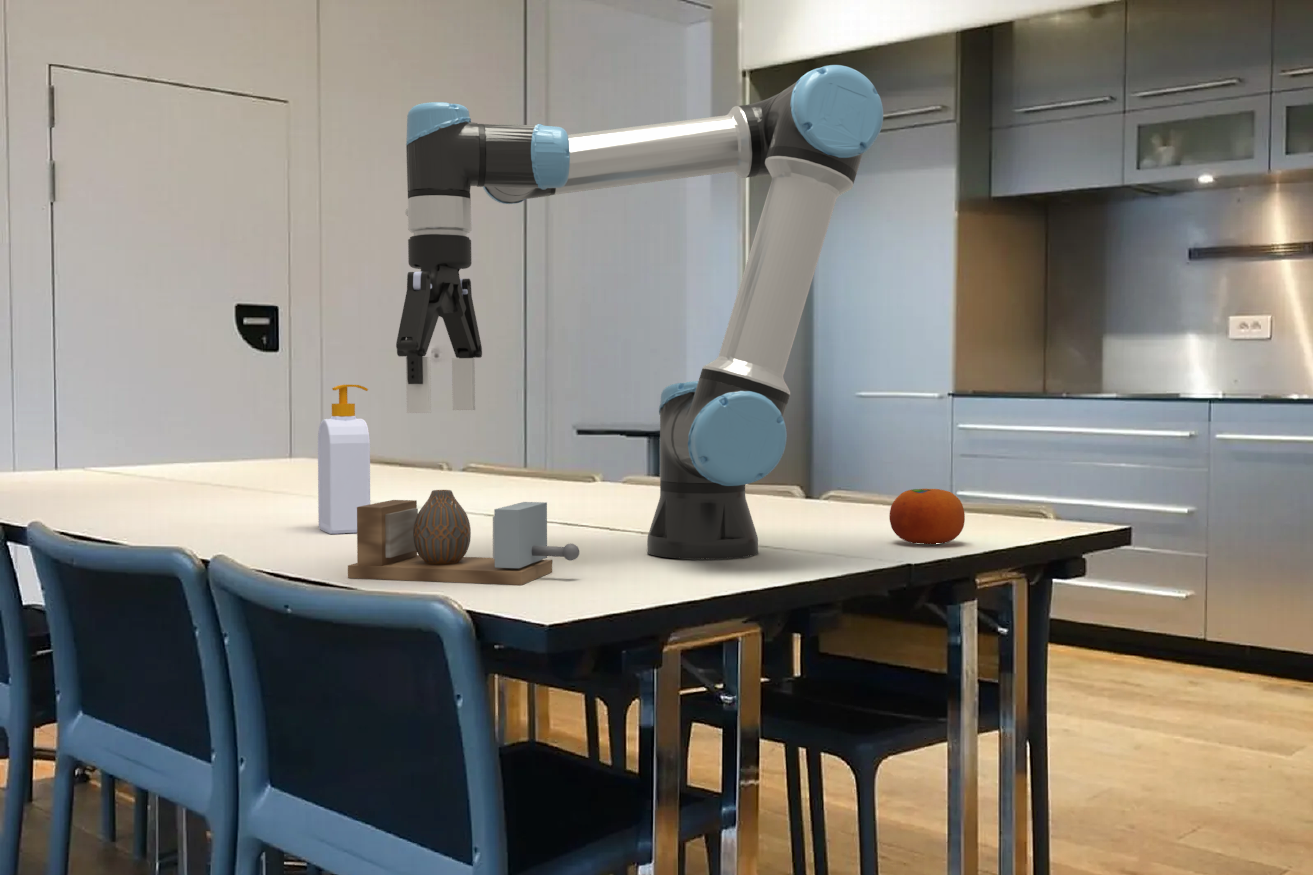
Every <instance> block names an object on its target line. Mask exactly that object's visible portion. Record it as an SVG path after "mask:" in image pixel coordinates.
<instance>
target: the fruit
mask: <svg viewBox="0 0 1313 875" xmlns="http://www.w3.org/2000/svg"><path fill="white" fill-rule="evenodd" d="M965 514H966V513H965V509H964V505H963V503H962V501H961V500H960V499H959V497H957V496H956V495H955V493H953V492H951V491H949V490H948V491H947V490H944V489H941V488H939V489H938V488H913V489H908V490H905V491H904V492H902V493H900V494H899V495H898V496H897V497H896V498H895V499H894V501H893V502H892V504H891V506H890V509H889V515H888V516H889V523H890V526H891V529H892V531H893V532H894V534H895V535H896V536H897V537H898V538H900V539H902V540H904V541H905V542H908V543H911V542H912V543H911V544H914V543H924V544H923V545H934V544H936V543H943V544H946V543H945V542H947V543H950V542H952V541H953V540H955V539H956V538H957V537H959V536H960V534H961V532H962V531H963V529H964V527H965V526H964V525H965V520H966V519H965V518H966V517H965Z"/></svg>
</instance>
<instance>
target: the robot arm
mask: <svg viewBox="0 0 1313 875" xmlns="http://www.w3.org/2000/svg"><path fill="white" fill-rule="evenodd" d="M406 116H407V117H406V118H407V119H406V120H407V121H406V144H405V146H406V147H405V148H406V151H405V152H406V177H407V178H406V180H407V181H406V182H407V184H406V185H407V208H406V210H405V211H404V213H405V215H406V216H407V217H408V218H407V220H408V221H407V222H408V224H407V226H408V228H407V229H408V231H409V232H410V233H411V234H413V235H412V236H410V237H409V238H408V239H407V247H408V248H407V249H408V258H407V259H408V265H409V267H410V268H413V269H415V270H420V271H409V272H408V273H407V277H406V278H407V279H406V280H407V281H406V294H405V299H404V303H403V308H402V313H401V317H400V323H399V329H398V333H397V338H396V345H395V347H396V354H397V356H398V357H400V358H401V357H405V371H406V372H405V375H406V378H405V379H406V380H405V381H406V383H405V384H406V413H407V414H431V413H432V393H431V392H432V388H431V386H432V385H431V384H432V383H431V382H432V381H431V379H432V378H431V356H426V355H427V353H428V349H429V347H430V344H431V340H432V338H433V335H434V332H435V328H436V325H437V323H438V320H439V317H440V318H441V319H442V320H443V322H444V326H445V328H446V331H447V332H446V333H447V335H448V337H449V338H448V339H449V341H450V344H451V346H452V349H453V352H454V356H455V358H451V370H452V371H451V376H452V377H451V379H452V380H451V381H452V384H451V385H452V411H476V387H475V386H476V384H475V383H476V381H475V380H476V378H475V374H476V373H475V372H476V371H475V368H476V367H475V359H480V358H482V356H483V348H482V346H483V345H482V341H481V338H480V332H479V327H478V321H477V316H476V311H475V307H474V302H473V297H472V294H473V293H472V281H471V279H470V278H460V277H461V276H460V270H466V269H468V268H470V267H471V266H472V240H471V239H470V237H469V236H468V235H467V234H469V233H471V231H472V203H471V202H472V201H471V187H479V188H483V190H484V192H485V193H486V195H487V196H489V197H490V198H491V199H492V200H493V201H495V202H496V203H500V204H503V205H515V204H520V203H522V202H523V201H526V200H528V199H529V200H530V199H536V198H545V197H549V196H556V195H564V194H570V193H579V192H585V191H594V190H601V189H611V188H617V187H626V186H632V185H634V186H635V185H639V184H648V183H655V182H663V181H665V182H666V181H671V180H680V179H685V178H695V177H696V178H697V177H703V176H711V175H719V174H726V173H734V174H736V175H737V176H738V177H740V178H741V179H746V178H755V177H767V176H771V182H770V185H769V188H768V191H767V195H766V198H765V200H764V205H763V208H762V211H761V214H760V218H759V220H758V224H757V228H756V231H755V235H754V238H753V241H752V244H751V248H750V251H749V254H748V258H747V262H746V264H745V268H744V270H743V275H742V277H741V280H740V283H739V287H738V291H737V295H736V298H735V300H734V304H733V308H732V309H731V310H732V311H731V314H730V317H729V321H728V323H727V328H726V330H725V334H724V337H723V340H722V342H721V346H720V351H719V353H718V356H717V358H715V359H714V360H712V361H711V362H709V363H707V364H705V365H703V366H702V369H701V371H700V374H699V378H698V380H693V381H692V380H691V381H687V382H677V383H673V384H670V385H668V386H667V385H666V387H665V388H663V389H662V391H661V394H660V401H659V402H660V403H659V407H658V414H659V441H660V442H659V445H660V446H659V447H660V448H659V463H660V464H659V471H660V472H659V478H660V479H659V483H660V484H659V485H660V486H659V488H660V489H659V491H660V492H659V500H658V503H657V506H656V509H655V511H654V515H653V519H652V522H651V525H650V527H649V532H648V535H647V542H646V544H647V545H646V546H647V550H646V552H647V554H649V555H652V556H655V557H662V558H669V559H683V560H684V559H685V560H726V559H727V560H728V559H737V558H740V559H741V558H747V557H751V556H752V557H753V556H755V555H757V554H758V553H759V538H758V537H759V536H758V533H757V531H756V527H755V524H754V521H753V518H752V515H751V512H750V511H751V510H750V508H749V505H748V502H747V499H746V498H747V497H746V485H748V484H752V483H756V482H758V481H760V480H762V479H763V478H765V477H766V476H768V475H769V474H770V473H771V472H772V471H773V470H774V469H775V468H776V467H777V465H778V464H779V463H780V461H781V459H782V457H783V455H784V452H785V450H786V446H787V440H788V439H787V438H788V437H787V435H788V434H787V426H786V423H785V422H786V421H785V419H784V417H785V413H786V410H787V406H788V403H789V400H790V396H791V391H790V388H789V387H788V385H787V383H786V382H785V378H784V374H785V371H786V368H787V366H788V365H787V364H788V361H789V358H790V354H791V351H792V347H793V344H794V341H795V338H796V336H797V331H798V327H799V324H800V322H801V318H802V314H803V311H804V308H805V305H806V302H807V299H808V295H809V292H810V289H811V285H812V282H813V278H814V275H815V272H816V270H817V265H818V262H819V258H820V255H821V252H822V248H823V245H824V242H825V239H826V235H827V232H828V229H829V225H830V222H831V219H832V216H833V211H834V209H835V205H836V203H837V198H839V197H840V196H841V195H843V194H845V193H847V192H849V191H850V190H852V189H853V188H854V183H855V181H856V176H857V175H858V174H857V173H858V170H859V168H860V164H861V162H862V161H861V160H862V158H863V154H864V153H866V152H867V151H869V149H870V148H871V147H872V146H873V144H874V143H875V142H876V140H877V138H878V137H879V135H880V133H881V130H882V127H883V123H884V107H883V102H882V99H881V96H880V94H878V91H877V89H876V87H875V85H874V84H873V83H872V82H871V80H870V79H869V78H868V77H867V76H865V75H864V74H863V73H861V72H860V71H858V70H856V69H854V68H852V67H849V66H846V65H841V64H830V65H824V66H822V67H817V68H814V69H812V70H810V71H807V72H806V73H804V75H802V76H801V77H800V78H799V79H798V80H797V81H796V82H794V83H793V84H792V85H790V86H787V88H785V89H784V90H782V91H781V92H780V93H777V94H775V95H773V96H771V97H769V98H766V99H764V100H761V101H757V102H754V103H750V104H743V105H742V104H741V105H735V106H733V107H732V108H731V109H730V110H729V112H728V113H727V114H726V115H719V116H718V115H717V116H710V117H703V118H701V117H700V118H693V119H686V120H677V121H670V122H662V123H654V124H653V123H652V124H647V125H646V124H645V125H637V126H630V127H629V126H628V127H622V128H621V127H620V128H615V129H614V128H613V129H605V130H598V131H588V132H581V133H580V132H579V133H571V134H568V132H567V130H565V128H563V127H561V126H555V125H554V126H551V125H543V124H541V123H537V124H500V123H499V124H496V123H495V124H493V123H492V124H490V123H489V124H487V123H485V124H484V123H478V122H472V119H471V117H470V111H469V109H468V108H467V107H466V106H465V105H462V104H458V103H449V102H446V101H444V102H442V101H433V102H423V103H419V104H415V105H414V106H412V107H411V108H410V110H408V113H407V115H406Z"/></svg>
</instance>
